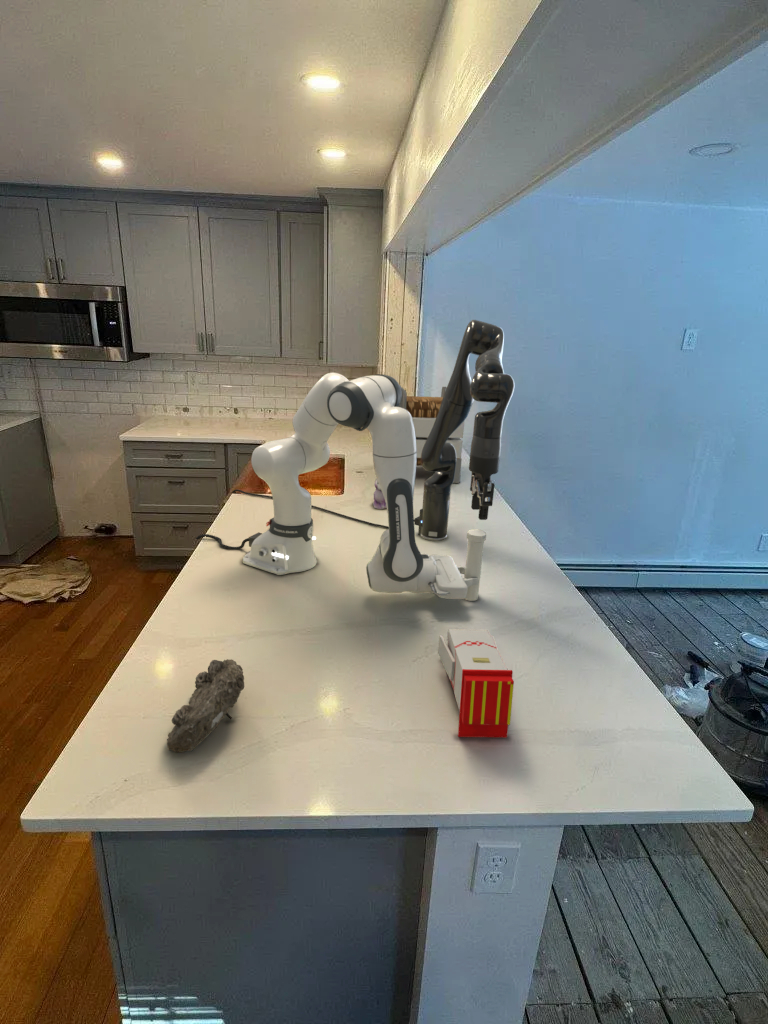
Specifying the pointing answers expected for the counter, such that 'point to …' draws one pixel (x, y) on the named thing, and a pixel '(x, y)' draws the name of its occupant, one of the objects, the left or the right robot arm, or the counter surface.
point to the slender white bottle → (473, 567)
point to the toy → (478, 682)
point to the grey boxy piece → (430, 424)
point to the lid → (476, 535)
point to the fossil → (206, 705)
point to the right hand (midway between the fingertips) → (478, 514)
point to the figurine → (378, 497)
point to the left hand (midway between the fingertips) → (475, 576)
